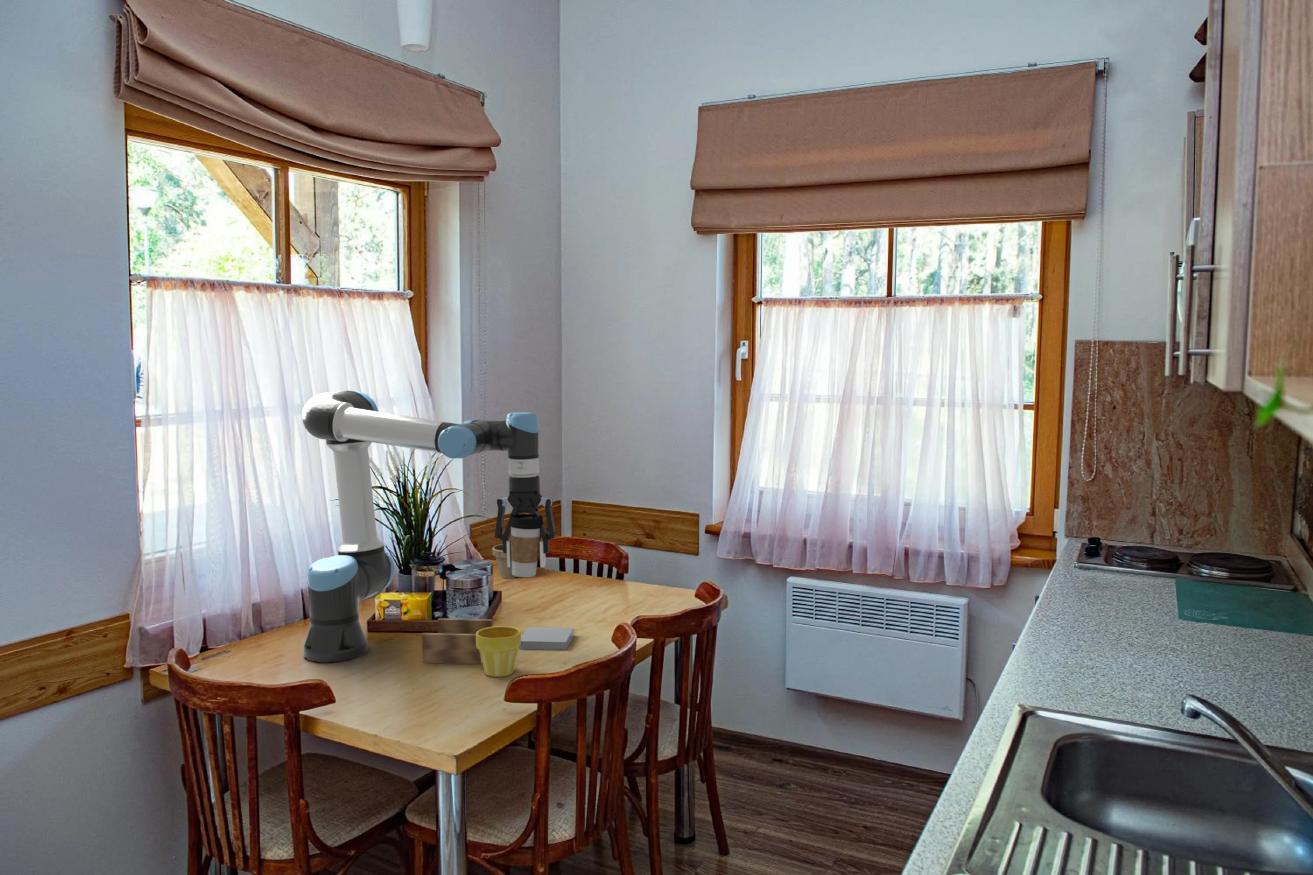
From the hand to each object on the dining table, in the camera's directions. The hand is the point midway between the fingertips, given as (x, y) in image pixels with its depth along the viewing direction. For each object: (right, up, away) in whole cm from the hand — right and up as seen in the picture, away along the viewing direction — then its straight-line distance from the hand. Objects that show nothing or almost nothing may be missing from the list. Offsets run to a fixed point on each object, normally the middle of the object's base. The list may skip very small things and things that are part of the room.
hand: (526, 565), depth 237 cm
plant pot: (-5, -23, -13) cm, 27 cm away
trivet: (+4, -21, +9) cm, 23 cm away
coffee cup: (-1, -2, 0) cm, 2 cm away
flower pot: (-16, -14, +77) cm, 80 cm away
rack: (-17, -22, 0) cm, 28 cm away
